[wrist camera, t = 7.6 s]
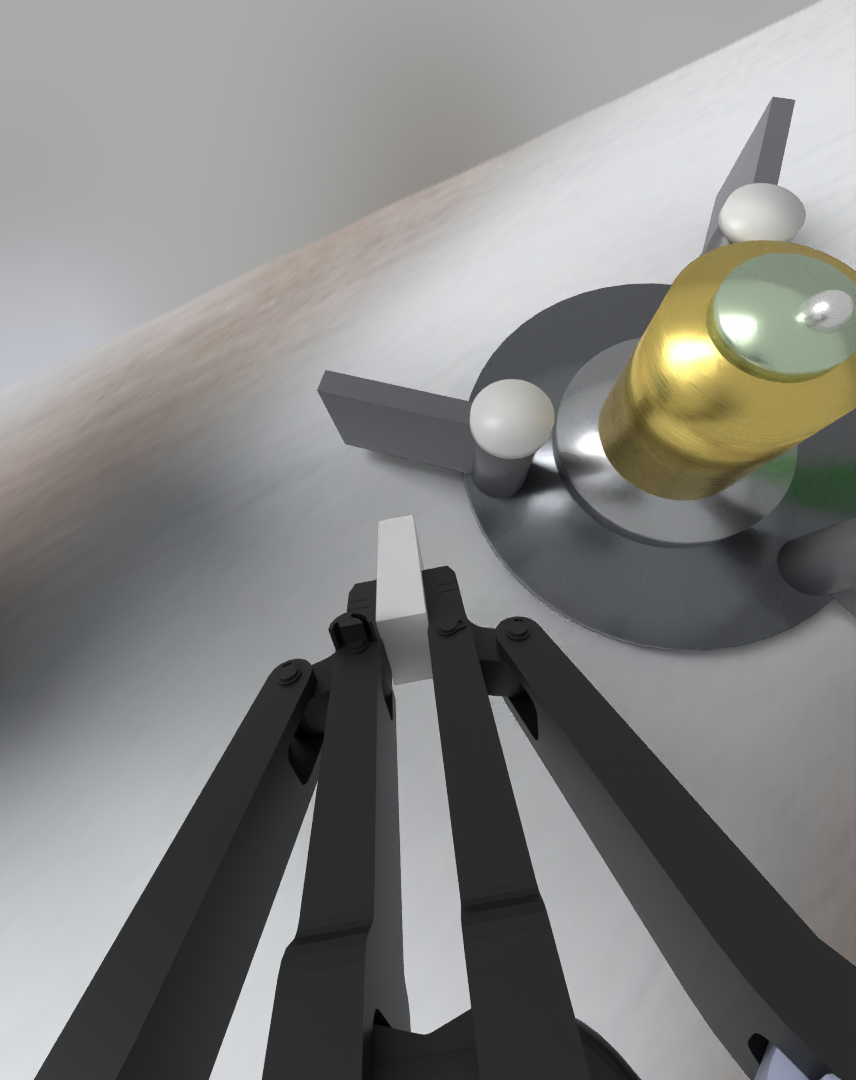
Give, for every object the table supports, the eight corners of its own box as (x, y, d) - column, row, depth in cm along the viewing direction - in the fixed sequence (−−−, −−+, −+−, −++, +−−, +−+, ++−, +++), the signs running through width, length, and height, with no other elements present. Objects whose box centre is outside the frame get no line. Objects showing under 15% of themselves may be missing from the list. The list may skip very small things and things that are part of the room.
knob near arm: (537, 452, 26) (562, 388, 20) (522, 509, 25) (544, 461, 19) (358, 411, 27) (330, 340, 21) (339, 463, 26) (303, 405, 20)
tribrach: (386, 439, 28) (336, 283, 16) (641, 240, 31) (754, -12, 19) (672, 747, 22) (913, 848, 10) (953, 465, 25) (1384, 298, 13)
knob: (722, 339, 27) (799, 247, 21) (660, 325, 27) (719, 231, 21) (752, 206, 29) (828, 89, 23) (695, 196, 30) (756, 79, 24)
